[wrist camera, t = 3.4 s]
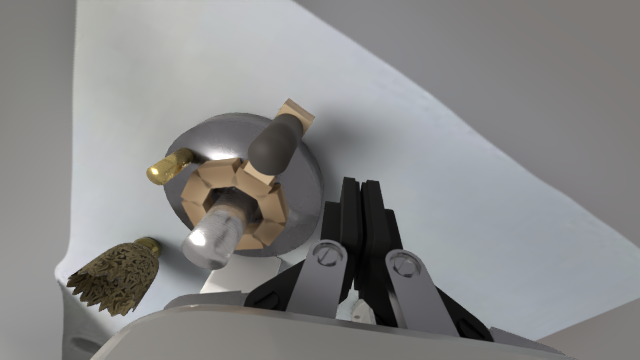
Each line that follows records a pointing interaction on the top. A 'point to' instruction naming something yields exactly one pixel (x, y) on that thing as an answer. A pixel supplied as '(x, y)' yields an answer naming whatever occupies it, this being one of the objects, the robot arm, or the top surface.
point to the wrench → (253, 176)
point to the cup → (118, 276)
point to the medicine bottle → (242, 274)
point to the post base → (237, 145)
